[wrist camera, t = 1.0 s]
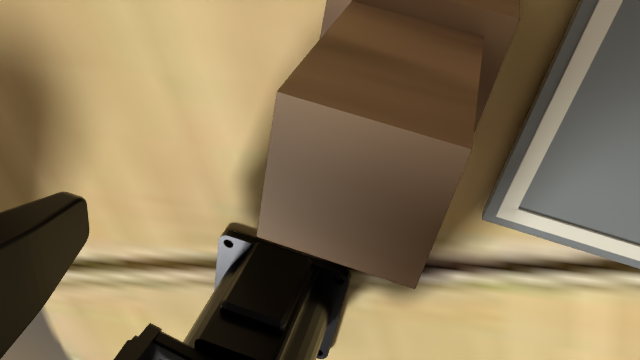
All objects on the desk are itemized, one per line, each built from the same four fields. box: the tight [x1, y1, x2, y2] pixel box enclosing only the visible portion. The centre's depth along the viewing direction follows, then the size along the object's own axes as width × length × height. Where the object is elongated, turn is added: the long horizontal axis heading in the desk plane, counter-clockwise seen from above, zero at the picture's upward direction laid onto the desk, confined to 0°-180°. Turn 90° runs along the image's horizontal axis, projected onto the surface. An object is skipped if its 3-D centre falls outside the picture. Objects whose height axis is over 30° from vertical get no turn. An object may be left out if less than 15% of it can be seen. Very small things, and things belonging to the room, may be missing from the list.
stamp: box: [257, 0, 520, 289], centre depth 16 cm, size 6×6×9 cm
